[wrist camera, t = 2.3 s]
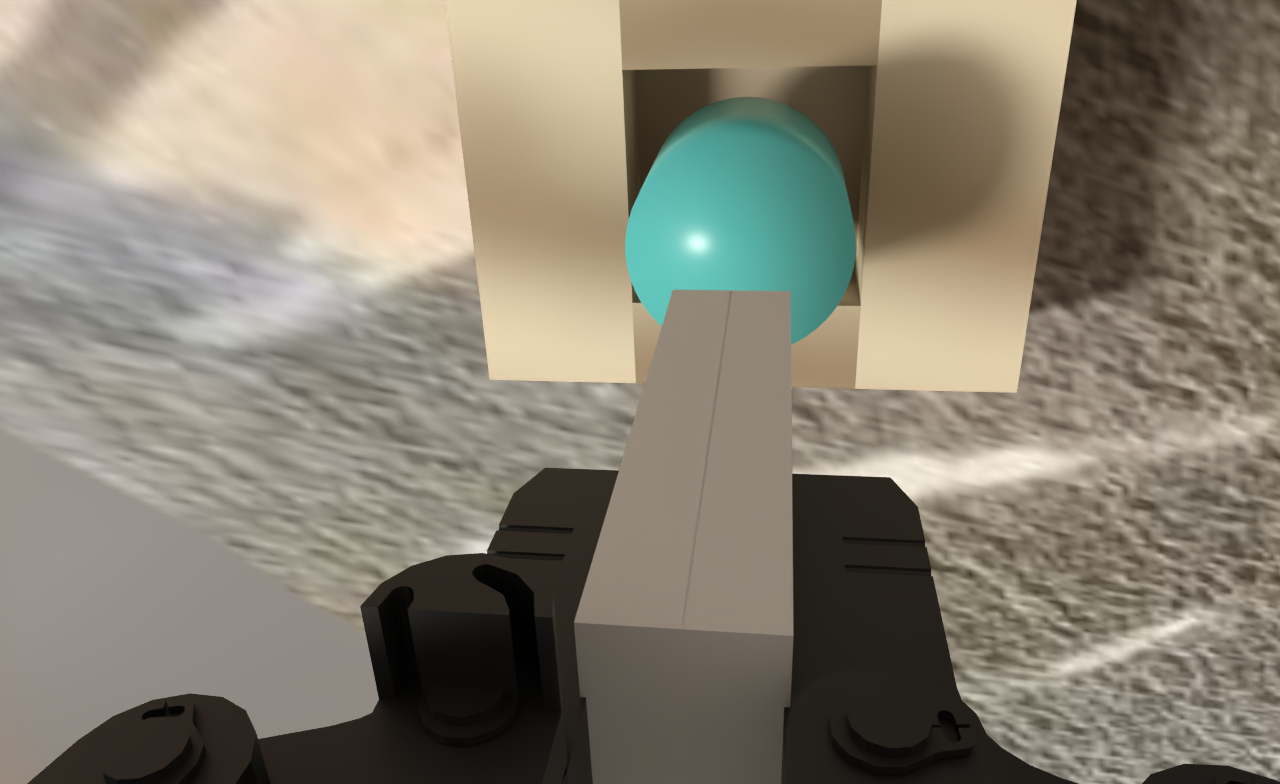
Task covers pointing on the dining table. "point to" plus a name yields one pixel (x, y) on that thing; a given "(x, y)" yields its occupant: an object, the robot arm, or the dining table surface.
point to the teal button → (744, 212)
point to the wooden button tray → (826, 93)
